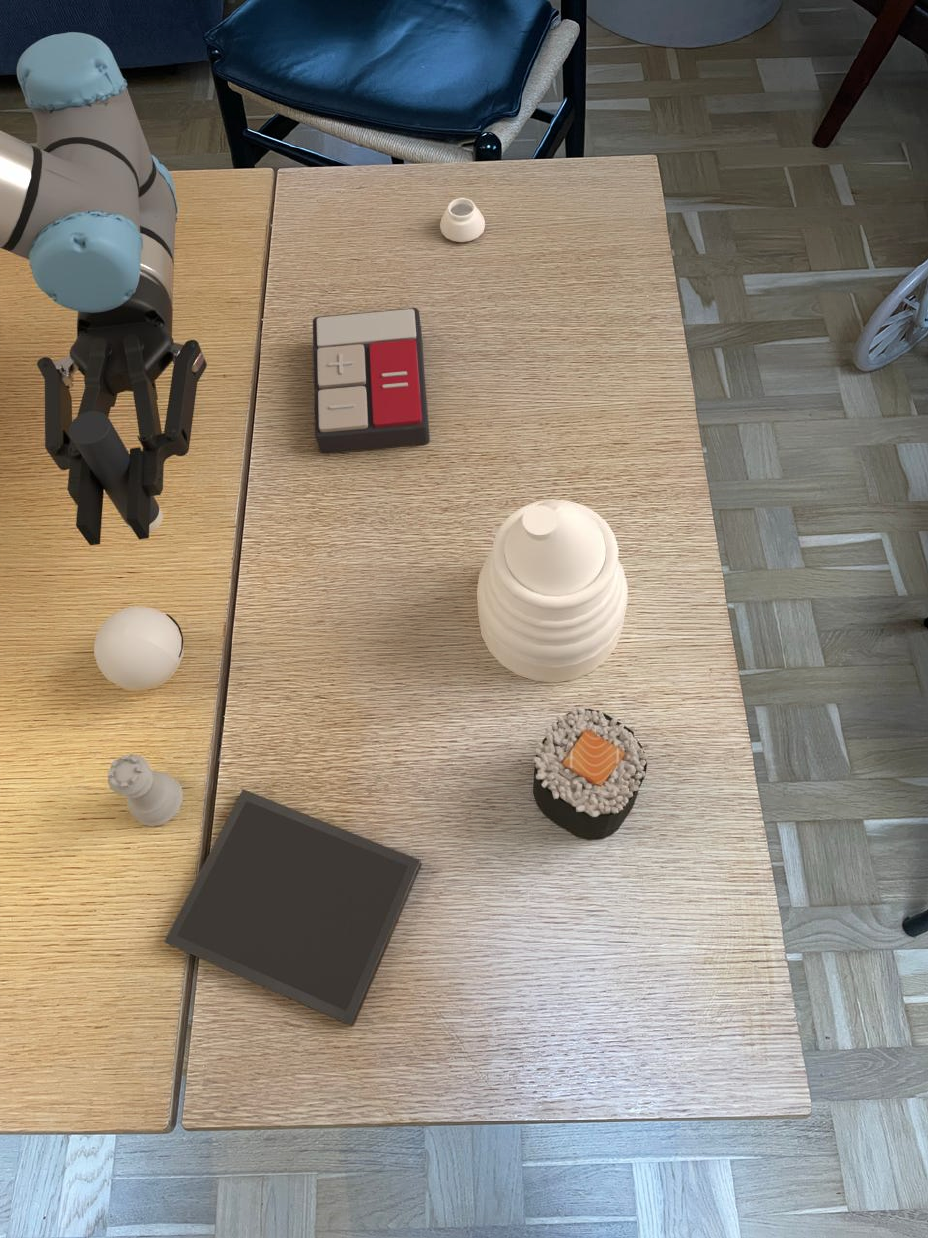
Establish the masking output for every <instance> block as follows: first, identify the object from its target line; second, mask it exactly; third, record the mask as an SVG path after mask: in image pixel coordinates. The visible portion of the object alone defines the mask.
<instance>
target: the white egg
mask: <svg viewBox="0 0 928 1238" xmlns="http://www.w3.org/2000/svg"><path fill="white" fill-rule="evenodd" d="M124 591H125V592H126V593H127V591H126V590H124ZM129 601H131V599H130V598H129ZM93 655H94V658H95V662H96V665H97V667H98V669H99V672H101V673H102V675H103V676H104V677H105V679H106V680H108V681H109V682H111V683H112V684H114V685H116V686H118V687H120V688H121V689H122V690H127V691H132V692H140V691H150V690H153V689H156V688H157V687H158V688H159V687H160V686H162V685H164V684H165V683H166V682H168V681H169V680H170V679H172V677H174V675H175V673H176V672H177V670H178V669H179V667H180V665H181V662H182V660H183V657H184V636H183V632H182V629H181V627H180V625H179V623H178V622H177V621H176V619H174V618H173V616H171V615H170V614H168V613H165V612H163V611H160V610H159V609H157V608H154V607H150V606H143V605H136V606H128V607H124V608H122V609H120V610H117V611H115V612H114V613H112V614H111V615H109V616H108V617H107V618H106V619H105V620H104V621H103V622H102V624H101V625H100V627H99V629H98V631H97V633H96V636H95V639H94V646H93Z"/></svg>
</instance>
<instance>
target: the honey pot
mask: <svg viewBox="0 0 928 1238" xmlns="http://www.w3.org/2000/svg"><path fill="white" fill-rule="evenodd" d="M619 552H620V551H619V546H618V541H617V539H616V534H614V531H613V530H612V528H611V526H610V525H609V524H608V522H607V521H606V520H605V519H604V518H603V517H602V516H600V514H599V513H598V512H596V511H595V510H593V509H591V508H589V507H587V506H586V505H584V504H581V503H578V502H574V501H571V500H567V499H555V498H554V499H553V498H551V499H544V500H537V501H534V502H531V503H528V504H526V505H523V506H521V507H519V508H518V509H517V510H515V511H514V512H512V513H510V515H508V516H507V517H506V519H505V520H504V521H503V522H502V523H501V525H500V526H499V527H498V530H497V531H496V534H495V537H494V539H493V541H492V548H491V552H490V553H489V554H488V556H486V558H485V560H484V563H483V565H482V568H481V570H480V572H479V575H478V579H477V580H478V581H477V588H476V597H477V598H476V600H477V601H476V603H477V614H478V622H479V623H478V624H479V629H480V634H481V637H482V640H483V641H484V644H485V646H486V648H487V650H488V652H489V653H490V654H491V655H492V656H493V657H494V658H495V659H496V660H497V661H498V663H499V664H500V665H501V666H503V667H505V669H507V670H509V671H511V672H512V673H514V674H515V675H517V676H519V677H522V678H526V679H529V680H531V681H534V682H543V683H544V682H545V683H561V682H568V681H574V680H577V679H579V678H581V677H584V676H586V675H588V674H590V673H593V672H594V671H595V670H596V669H598V668H599V667H600V666H601V665H603V664H604V663H605V662H606V661H607V660H608V659H609V657H610V656H611V654H612V653H613V652H614V650H615V649H616V648H617V646H618V643H619V640H620V637H621V635H622V632H623V627H624V622H625V618H626V612H627V606H628V597H629V596H628V595H629V586H628V582H627V578H626V574H625V570H624V566H623V565H622V563H621V562H620V560H619V555H620V553H619Z"/></svg>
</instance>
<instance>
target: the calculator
mask: <svg viewBox="0 0 928 1238" xmlns="http://www.w3.org/2000/svg"><path fill="white" fill-rule="evenodd" d="M420 317H421V316H420V310H419V309H418V308H417V307H409V308H399V309H398V308H397V309H387V310H376V311H367V312H356V313H355V312H353V313H344V314H333V315H322V316H315V317H314V318H313V319H312V349H313V350H312V351H313V352H312V354H313V357H312V358H313V360H312V361H313V404H314V405H313V407H314V437H315V440H316V443H317V445H318V446H317V447H318V449H319V452H320V453H321V454H336V453H346V452H357V451H358V452H359V451H367V450H377V449H378V450H379V449H389V448H400V447H401V448H402V447H411V446H412V447H413V446H422V445H423V446H424V445H428V444H429V443H430V440H431V439H430V438H431V437H430V425H429V413H428V399H427V384H426V375H425V373H426V371H425V359H424V358H425V357H424V348H423V346H424V345H423V344H424V343H423V333H422V324H421V318H420Z"/></svg>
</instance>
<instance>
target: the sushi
mask: <svg viewBox="0 0 928 1238" xmlns="http://www.w3.org/2000/svg"><path fill="white" fill-rule="evenodd" d="M555 718H556V721H557V722H556V721H555V722H552V723H551V725H550V726H549V725H547V726H546V727H545V731H546V732H544V739H542V741H539V742H538V741H537V743H536V748H535V749H534V754H535V756H534V757H533V761H532V762H533V764H534V767H533V783H532V784H533V785H532V786H533V787H532V793H533V794H532V795H533V797H534V801H535V803H536V806H537V808H538V809H539V810H540V812H541V813H542V814H543V815H544V816H545V817H546V818H547V819H549V820H550V821H551V822H552V823H554V824H555V825H556V826H558V827H560V828H561V829H563V830H565V831H566V832H567V833H569V834H571V835H572V836H574V837H576V838H579V839H583V840H587V841H596V840H604V839H606V838H608V837H610V836H613V835H614V834H615V833H616V832H617V831H618V830H620V828H621V826H622V825H623V823H624V822H625V820H626V819H627V817H628V816H629V814H631V811H632V810H633V808H634V805H635V803H636V801H637V797H638V794H639V791H640V788H641V786H642V783H643V781H644V779H645V778H646V775H647V769H648V762H647V759H648V758H649V754H647V753H646V752H645V750H644V748H643V746H642V744H641V743H640V741H638V739H637V738H636V737H635V736H634V734H635V732H634V731H633V730H632V729H631V728H629V727H627V726H626V724H625V725H624V723H622V722H620V721H618V718H617V717H614V718H613V717H612V716H610V715H608V714H606V713H604V712H603V711H600V710H597V709H596V710H595V709H593V708H583V707H581V706H577V707H576V709H575V708H571V710H570V712H567V713H566V714H565V715H560V714H558V715H556V716H555Z"/></svg>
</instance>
